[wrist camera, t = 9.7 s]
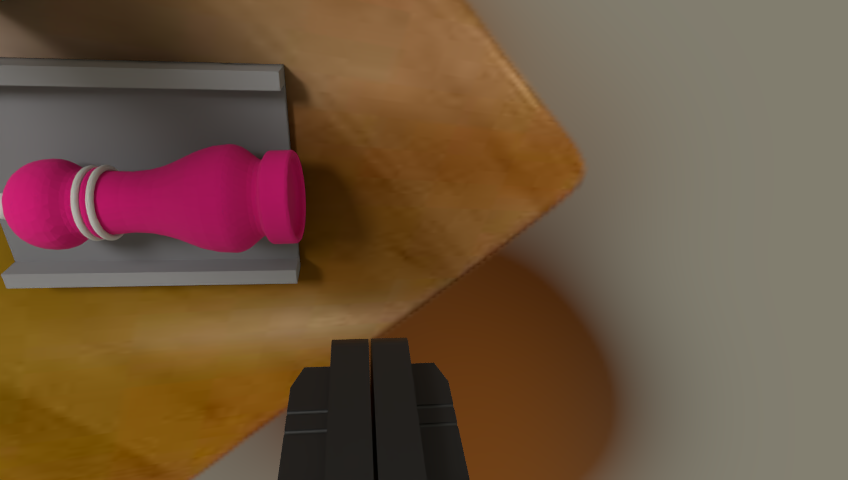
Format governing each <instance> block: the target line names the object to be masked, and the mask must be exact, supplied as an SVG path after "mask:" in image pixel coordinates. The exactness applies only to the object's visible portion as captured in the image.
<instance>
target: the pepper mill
mask: <svg viewBox="0 0 848 480" xmlns="http://www.w3.org/2000/svg"><path fill="white" fill-rule="evenodd" d="M305 218H306V195H305V184H304V176H303V171H302V166H301V163H300V159H299V157H298V155H297V153H296V152H295V151H293V150H270V151H267V152H266V153H265V154H264V156H263V158H262V160H261V159H259V158H257V157H256V156H254V155H253V154H252V153H250V152H249V151H248V150H246V149H245V148H243V147H241V146H238V145H235V144H225V145H216V146H211V147H208V148H204V149H201V150H198V151H195V152H193V153H191V154H189V155H187V156H185V157H183V158H181V159H179V160H177V161H175V162H172V163H170V164H167V165H165V166H162V167H158V168H155V169H151V170H142V171H133V172H130V171H118V170H117V169H116V168H115V167H113V166H110V165H101V166H99V167H98V166H95V165H89V166H86V167H83V168H82V167H81V166H79V165H77V164H75V163H73V162H70V161H68V160H64V159H43V160H38V161H34V162H31V163H28V164H26V165H24V166H22V167H21V168H19V169H18V170H17V171H16V172H15V173H13V174H12V176H11V177H10V178H9V180H8V181H7V183H6V185H5V188H4V190H3V193H0V219H4V220H6V221H7V223H8V225H9V227H10V228H11V229H12V231H13V232H14V233H15V234H16V235H17V236H18V237H19V238H20V239H22V240H23V241H25V242H27V243H29V244H31V245H33V246H36V247H40V248H43V249H53V250H62V249H70V248H73V247H77V246H80V245H81V244H83V243H84V242H85V241H87V240H88V239H90V240H93V241H101V240H104V239H106V240H110V241H113V240H117V239H119V238H121V237H122V236H123V235H124V234H126V233H136V232H137V233H154V234H159V235H164V236H169V237H172V238H176V239H179V240H181V241H184V242H187V243H189V244H192V245H195V246H197V247H200V248H203V249H207V250H212V251H217V252H230V253H239V252H243V251H246V250H248V249H250V248H251V247H252V246H254V245H255V244H256V243H257V242H258V241H259V240H260V239H262V238H263V237H264V236H266V237H267V238H268V240H269V241H270V242H271V243H273V244H294V243H299V242H300V240H301V239H302V237H303V233H304V228H305Z"/></svg>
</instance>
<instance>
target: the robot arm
mask: <svg viewBox="0 0 848 480" xmlns="http://www.w3.org/2000/svg"><path fill="white" fill-rule="evenodd" d="M370 367H371V369H370V370H369V345H368V339H349V340H332V345H331V364H330V367H306V368H304V369H303V370H302V372H301V373H300V375H299V376H298V378H297V379H296V380H295V382H294V383H293V385H292V386H291V388H290V395H289V402H288V409H287V416H286V424H285V434H284V438H283V446H282V452H281V460H280V467H279V474H278V480H469V475H468V470H467V466H466V461H465V456H464V452H463V447H462V443H461V438H460V434H459V429H458V426H457V420H456V415H455V410H454V408H453V401H452V397H451V392H450V388H449V383H448V380H447V379H446V378H445V377H444V375H443V374H442V373H441V372H440V370H439V369H438V368H437V366H436V365H435V364H434V363H416V364H411V360H410V353H409V346H408V340H407V338H379V339H371V365H370Z"/></svg>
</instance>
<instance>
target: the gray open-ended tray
mask: <svg viewBox="0 0 848 480" xmlns="http://www.w3.org/2000/svg"><path fill="white" fill-rule="evenodd" d="M225 144H235V145H238V146H241V147H243V148H245V149H246V150H248V151H249V152H250V153H252V154H253V155H254V156H256V157H257V158H259V159H261V160H262V158H263V156H264V154H265V153H266V152H267V151H270V150H291V147H290V135H289V123H288V111H287V98H286V86H285V74H284V64H245V63H205V62H165V61H125V60H85V59H45V58H5V57H0V193H3V190H4V188H5V185H6V183H7V181H8V180H9V178H10V177H11V176H12V174H13V173H15V172H16V171H17V170H18V169H19V168H21V167H22V166H24V165H26V164H28V163H31V162H34V161H38V160H43V159H64V160H68V161H70V162H73V163H75V164H77V165H79V166H81V167H82V168H83V167H86V166H89V165H95V166H98V167H99V166H101V165H110V166H113V167H115V168H116V169H117V170H118V171H130V172H133V171H142V170H151V169H155V168H158V167H162V166H165V165H167V164H170V163H172V162H175V161H177V160H179V159H181V158H183V157H185V156H187V155H189V154H191V153H193V152H195V151H198V150H201V149H204V148H208V147H211V146H216V145H225ZM0 223H1V225H2V228H3V231H4V233H5V236H6V238H7V241H8V244H9V246H10V249H11V252H12V254H13V257H14V259H15V263H13V264H12V265H11V266H10V267H9V268H8V269H7V270H6V271H4V272H3V273H2V274H1V276H2V278H3V281H4V283H5V286H6V288H55V287H113V286H172V285H230V284H289V283H297V281H298V276H299V272H300V256H299V244H298V243H294V244H273V243H271V242H270V241H269V240H268V238H267V237H266V236H264V237H263V238H262V239H260V240H259V241H258V242H257V243H256V244H255V245H254V246H252V247H251V248H250V249H248V250H246V251H243V252H239V253H230V252H217V251H212V250H207V249H203V248H200V247H197V246H195V245H192V244H189V243H187V242H184V241H181V240H179V239H176V238H172V237H169V236H164V235H159V234H154V233H137V232H136V233H126V234H124V235H123V236H122V237H121V238H119V239H117V240H113V241H110V240H106V239H104V240H101V241H93V240H90V239H88V240H87V241H85V242H84V243H83V244H81V245H80V246H77V247H73V248H70V249H62V250H53V249H43V248H40V247H36V246H33V245H31V244H29V243H27V242H25V241H23V240H22V239H20V238H19V237H18V236H17V235H16V234H15V233H14V232H13V231H12V229H11V228H10V227H9V225H8V223H7V221H6V220H4V219H0Z"/></svg>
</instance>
